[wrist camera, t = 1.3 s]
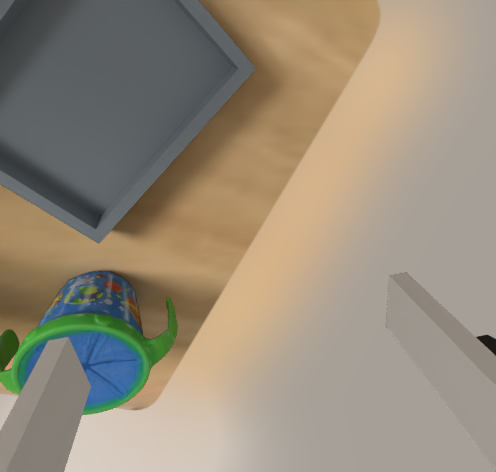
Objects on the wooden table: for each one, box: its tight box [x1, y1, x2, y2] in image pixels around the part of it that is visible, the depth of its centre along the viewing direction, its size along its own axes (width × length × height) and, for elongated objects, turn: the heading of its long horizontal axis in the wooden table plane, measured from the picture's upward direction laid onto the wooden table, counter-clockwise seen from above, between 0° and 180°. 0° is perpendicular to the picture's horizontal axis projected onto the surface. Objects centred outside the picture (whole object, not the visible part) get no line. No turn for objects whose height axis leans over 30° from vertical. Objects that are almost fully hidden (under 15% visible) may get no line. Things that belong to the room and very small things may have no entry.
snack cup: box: [0, 271, 177, 415], centre depth 33 cm, size 16×10×10 cm
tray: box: [0, 0, 256, 243], centre depth 27 cm, size 15×20×3 cm
